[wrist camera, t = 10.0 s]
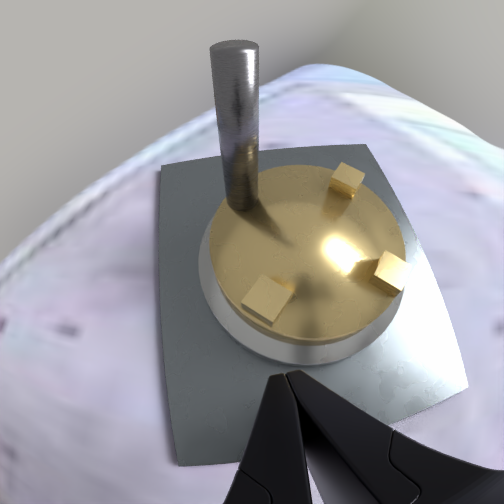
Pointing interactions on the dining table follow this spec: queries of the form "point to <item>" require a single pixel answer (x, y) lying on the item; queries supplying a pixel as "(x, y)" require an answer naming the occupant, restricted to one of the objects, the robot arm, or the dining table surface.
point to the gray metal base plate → (275, 352)
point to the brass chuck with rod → (295, 228)
